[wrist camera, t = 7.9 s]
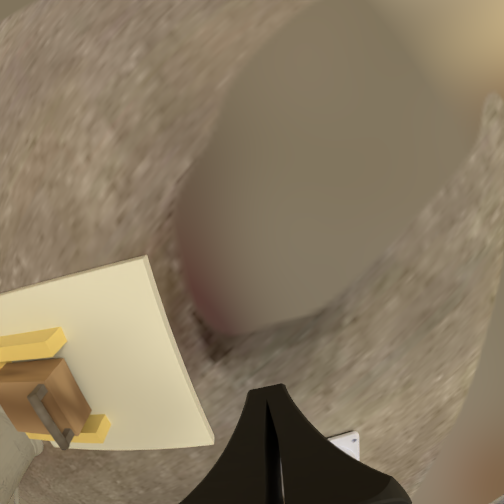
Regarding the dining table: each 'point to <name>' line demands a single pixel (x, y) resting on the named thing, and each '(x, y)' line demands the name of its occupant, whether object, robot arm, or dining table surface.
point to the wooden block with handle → (43, 399)
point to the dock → (109, 355)
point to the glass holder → (14, 457)
